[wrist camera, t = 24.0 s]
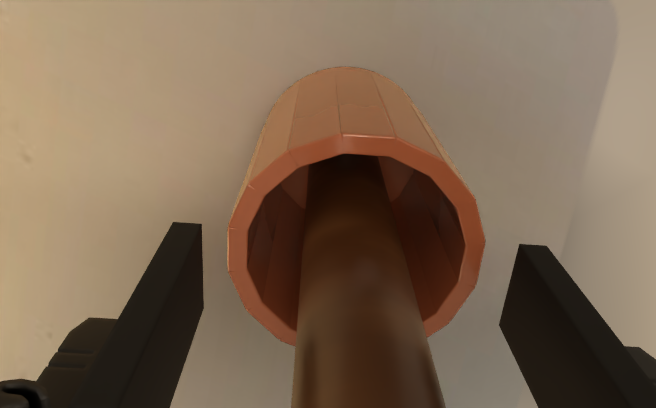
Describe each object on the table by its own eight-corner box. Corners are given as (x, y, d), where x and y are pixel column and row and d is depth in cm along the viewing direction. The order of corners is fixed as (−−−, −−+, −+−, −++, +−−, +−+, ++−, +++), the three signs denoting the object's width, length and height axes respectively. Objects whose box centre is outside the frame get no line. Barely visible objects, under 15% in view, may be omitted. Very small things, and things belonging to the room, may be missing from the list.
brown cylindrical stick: (379, 125, 24) (558, 661, 6) (372, 188, 25) (499, 793, 7) (311, 120, 24) (272, 651, 6) (307, 183, 25) (264, 787, 7)
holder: (437, 73, 24) (508, 144, 15) (413, 227, 27) (459, 365, 18) (264, 60, 23) (226, 124, 14) (260, 217, 27) (227, 352, 18)
